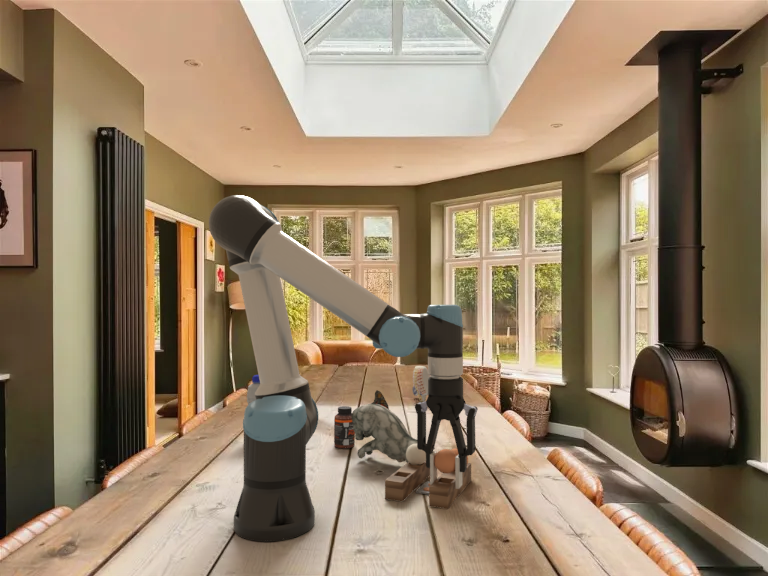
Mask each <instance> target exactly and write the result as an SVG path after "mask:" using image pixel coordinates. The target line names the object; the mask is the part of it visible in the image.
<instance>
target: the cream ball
mask: <svg viewBox="0 0 768 576" xmlns="http://www.w3.org/2000/svg"><path fill="white" fill-rule="evenodd" d="M406 458H407V460H408V462H409V463H410V464H412V465H421V464H423V463H424V462H425V460H426V453H425V451H423V450H419V449H418V448H417V444H412V445H410V446H409V447H408V448H407V451H406Z"/></svg>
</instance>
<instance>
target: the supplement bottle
mask: <svg viewBox="0 0 768 576" xmlns="http://www.w3.org/2000/svg"><path fill="white" fill-rule="evenodd" d="M352 412H353V411H352V407H351V406H347V405H343V406H338V407H337V413H336V414H335V415H334V420H333V421H334V423H333V426H334V428H333V429H334V431H333V437H334V439H333V442H334V443H333V445H334V447H335V448H337V449H343V450H345V449H347V450H348V449H351V448H354V447H355V443H356V442H355V440H356V439H355V432H354V429H353V422H352V417H351V415H352Z"/></svg>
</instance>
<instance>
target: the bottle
mask: <svg viewBox="0 0 768 576" xmlns="http://www.w3.org/2000/svg"><path fill="white" fill-rule="evenodd" d="M251 382H252V383H251V384H249V385H248V386H247V392H246V393H247V394H246V402H247V406H248V405H249V404H250V403H251V402H253V401H254V400H256V397H255V392H256V390H257V389H258V387H259V386H260V380H259V375H258V374H254V375H253V376H252V378H251Z"/></svg>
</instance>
